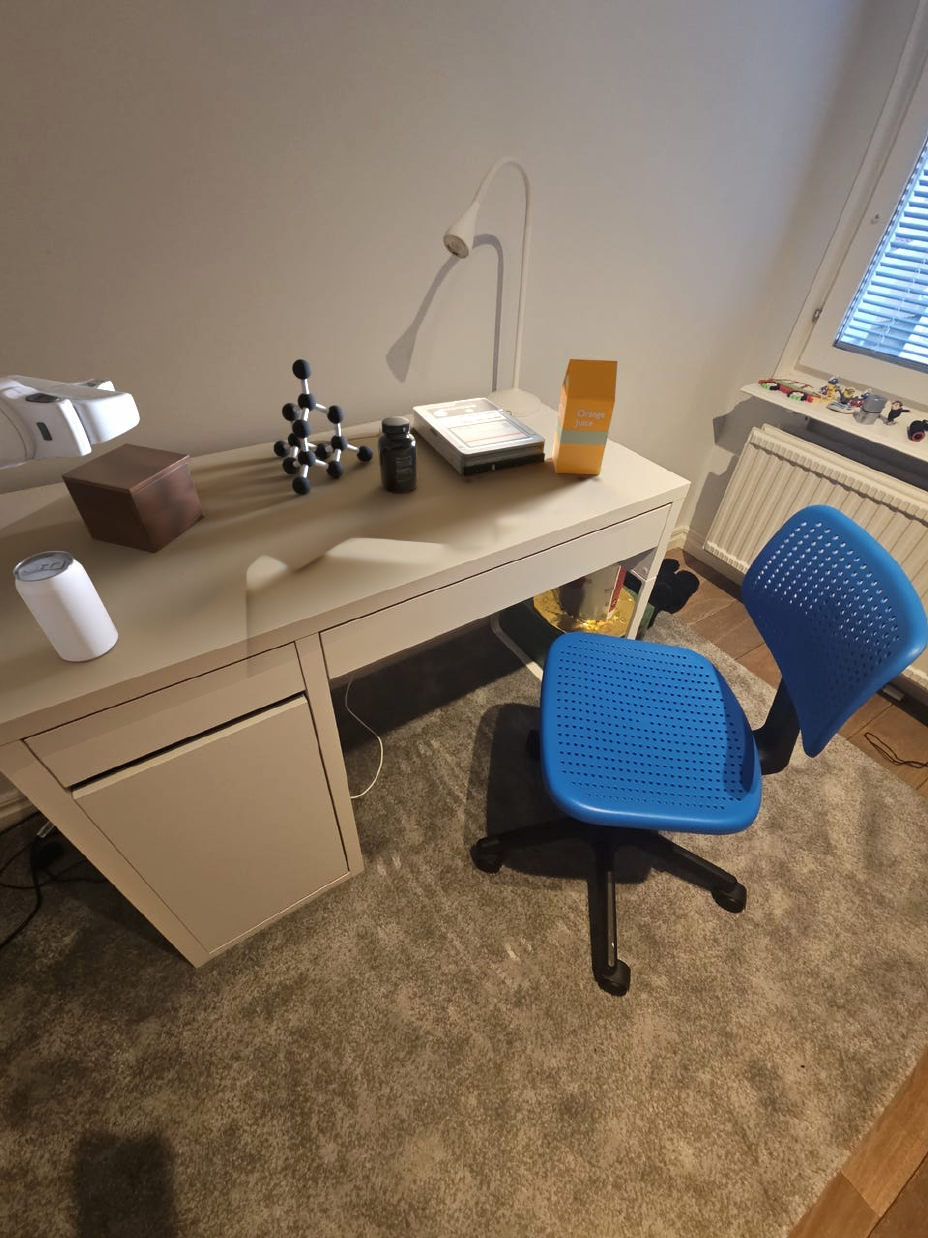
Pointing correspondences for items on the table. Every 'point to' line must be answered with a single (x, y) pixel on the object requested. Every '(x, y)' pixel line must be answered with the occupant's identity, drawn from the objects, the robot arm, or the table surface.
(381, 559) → the table surface
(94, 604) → the can
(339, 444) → the molecular model
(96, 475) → the lid
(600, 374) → the orange juice
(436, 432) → the hard drive
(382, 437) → the supplement bottle
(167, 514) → the box
